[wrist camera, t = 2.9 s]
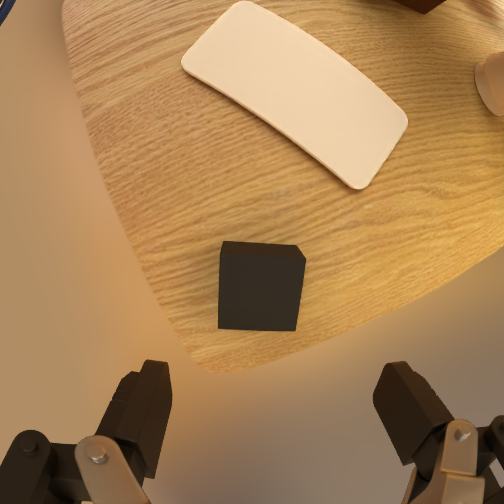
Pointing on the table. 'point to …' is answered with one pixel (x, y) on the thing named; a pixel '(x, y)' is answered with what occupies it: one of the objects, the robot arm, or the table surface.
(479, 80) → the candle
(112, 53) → the table surface
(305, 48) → the smartphone
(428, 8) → the brown square canister
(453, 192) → the table surface
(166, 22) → the table surface
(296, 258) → the dark brown square block
